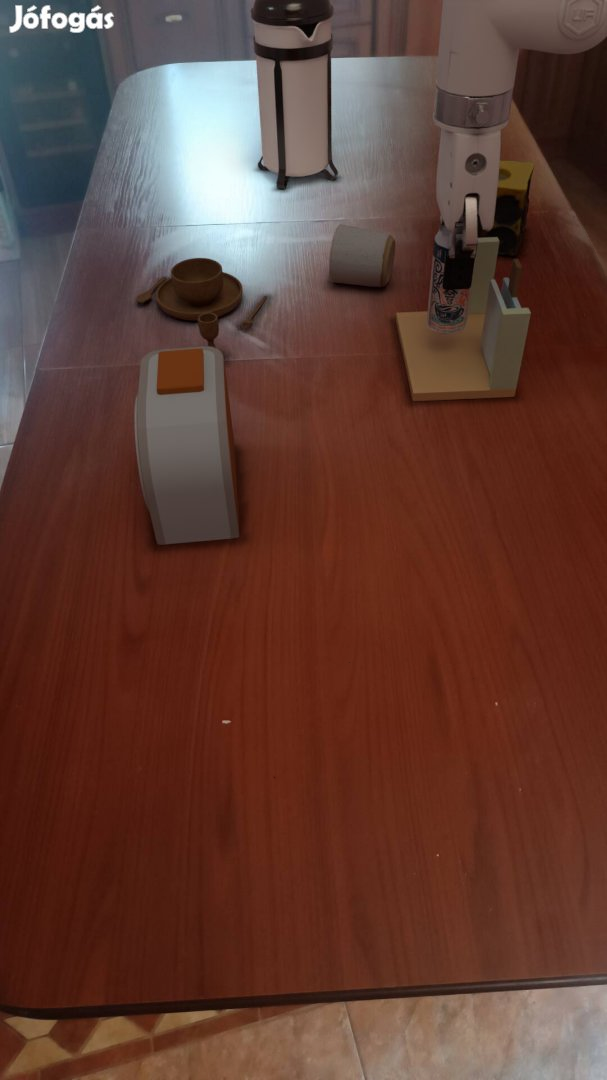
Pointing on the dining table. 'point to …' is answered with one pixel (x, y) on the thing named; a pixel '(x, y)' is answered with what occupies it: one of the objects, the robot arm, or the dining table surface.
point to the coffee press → (294, 86)
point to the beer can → (446, 291)
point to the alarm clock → (186, 445)
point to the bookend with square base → (467, 343)
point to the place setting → (199, 295)
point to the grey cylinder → (361, 256)
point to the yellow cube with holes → (510, 206)
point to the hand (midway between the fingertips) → (452, 274)
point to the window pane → (512, 286)
